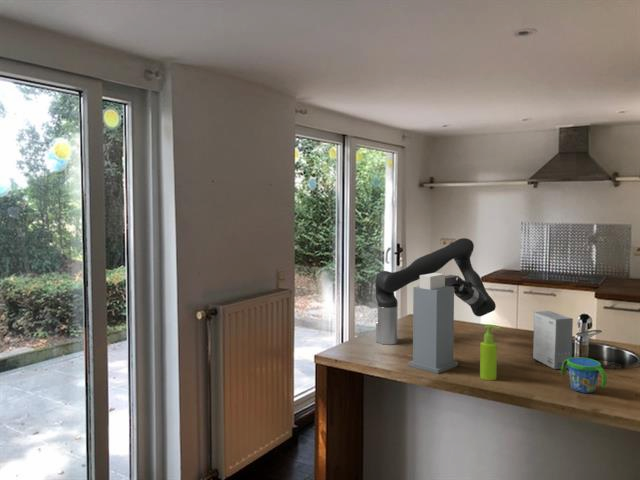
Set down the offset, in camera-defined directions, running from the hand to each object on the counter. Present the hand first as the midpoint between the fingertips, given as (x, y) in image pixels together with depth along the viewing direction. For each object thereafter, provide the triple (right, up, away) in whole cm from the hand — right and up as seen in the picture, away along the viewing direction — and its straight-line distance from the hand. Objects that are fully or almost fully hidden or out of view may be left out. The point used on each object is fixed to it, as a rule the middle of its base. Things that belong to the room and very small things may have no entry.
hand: (448, 277), depth 214 cm
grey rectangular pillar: (-7, -35, -4) cm, 36 cm away
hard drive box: (+41, -35, -2) cm, 54 cm away
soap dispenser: (+11, -36, -19) cm, 42 cm away
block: (-4, -3, -4) cm, 6 cm away
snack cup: (+39, -37, -32) cm, 63 cm away
